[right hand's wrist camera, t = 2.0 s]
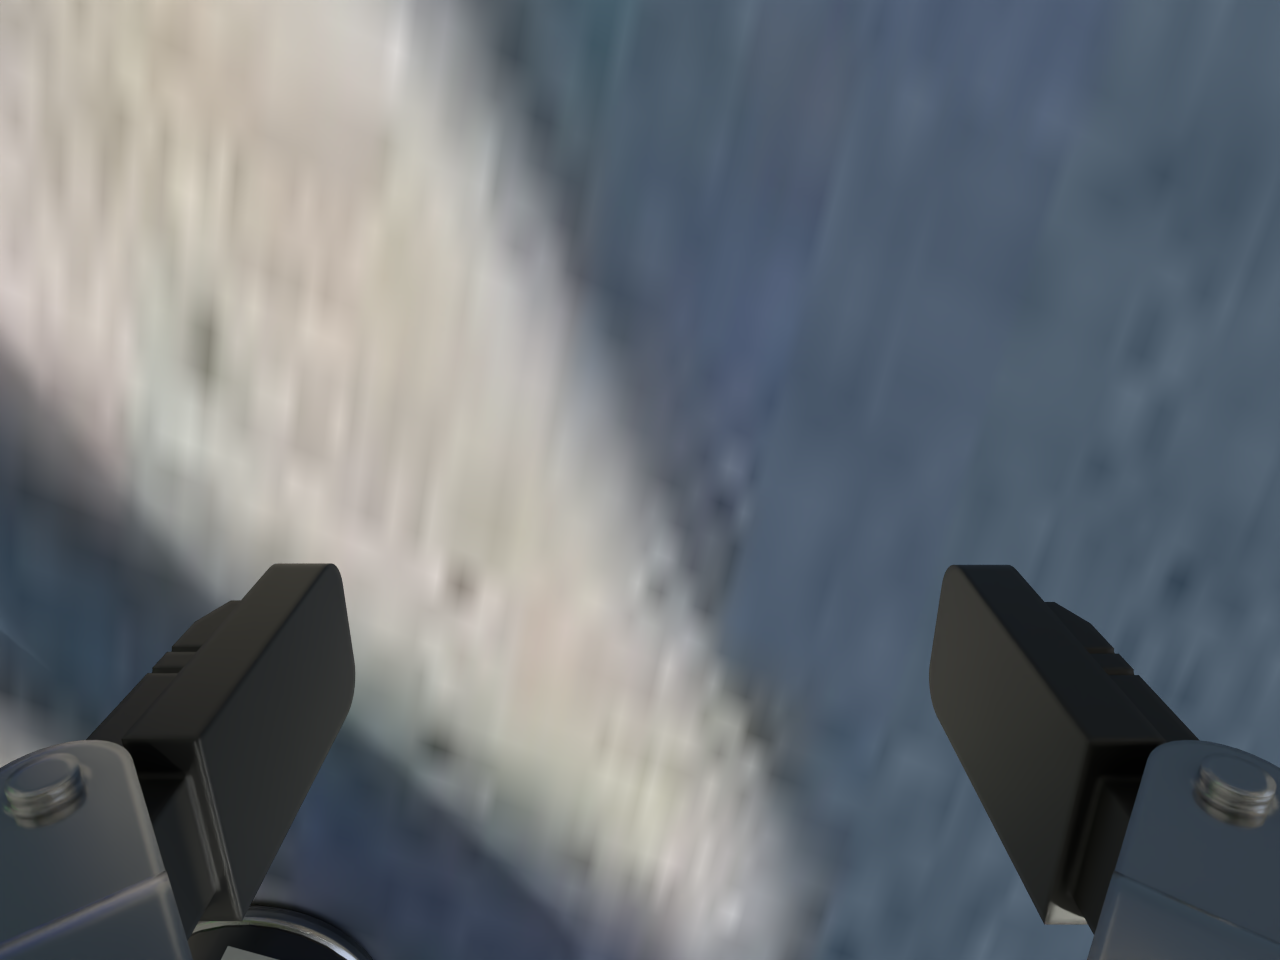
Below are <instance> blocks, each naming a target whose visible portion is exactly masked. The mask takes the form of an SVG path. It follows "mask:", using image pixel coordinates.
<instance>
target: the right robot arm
mask: <svg viewBox="0 0 1280 960" xmlns="http://www.w3.org/2000/svg"><path fill="white" fill-rule="evenodd" d="M929 685H930V694H931V699H932V703H933V707H934V710H935V713H936V715H937V717H938V719H939V721H940V723H941V725H942V727H943V729H944V731H945V733H946V735H947V737H948V738H949V740H950V742H951V744H952V746H953V748H954V750H955V752H956V754H957V756H958V758H959V760H960V762H961V764H962V766H963V768H964V769H965V771H966V773H967V775H968V777H969V779H970V781H971V783H972V785H973V787H974V789H975V791H976V793H977V795H978V797H979V799H980V800H981V802H982V804H983V806H984V808H985V810H986V812H987V814H988V816H989V818H990V820H991V822H992V824H993V826H994V828H995V830H996V832H997V833H998V835H999V837H1000V839H1001V841H1002V843H1003V845H1004V847H1005V849H1006V851H1007V853H1008V855H1009V857H1010V859H1011V861H1012V863H1013V864H1014V866H1015V868H1016V870H1017V872H1018V874H1019V876H1020V878H1021V880H1022V882H1023V884H1024V886H1025V888H1026V890H1027V892H1028V894H1029V895H1030V897H1031V899H1032V901H1033V903H1034V905H1035V907H1036V909H1037V911H1038V913H1039V915H1040V917H1041V919H1042V921H1043V923H1044V924H1088V925H1089V927H1090V929H1091V930H1092V932H1093V934H1094V938H1093V941H1092V945H1091V948H1090V951H1089V955H1088V958H1087V960H1280V768H1279V767H1277V766H1275V765H1273V764H1272V763H1270V762H1268V761H1266V760H1264V759H1262V758H1259V757H1257V756H1255V755H1253V754H1250V753H1247V752H1245V751H1242V750H1240V749H1236V748H1233V747H1230V746H1226V745H1222V744H1218V743H1213V742H1207V741H1200V740H1199V739H1198V738H1197V737H1196V736H1195V735H1194V734H1193V733H1192V732H1191V731H1190V730H1189V729H1188V727H1187V726H1186V725H1185V724H1184V723H1183V722H1182V721H1181V720H1180V719H1179V718H1178V717H1177V716H1176V715H1175V714H1174V712H1173V711H1172V710H1171V709H1170V708H1169V707H1168V706H1167V705H1166V704H1165V703H1164V702H1163V701H1162V700H1161V699H1160V697H1159V696H1158V695H1157V694H1156V693H1155V692H1154V691H1153V690H1152V689H1151V688H1150V687H1149V686H1148V685H1147V684H1146V682H1145V681H1144V680H1143V679H1142V678H1141V677H1140V676H1139V675H1134V670H1133V669H1132V667H1131V666H1130V665H1129V664H1128V663H1127V662H1126V661H1125V660H1124V659H1123V658H1122V657H1121V656H1120V655H1119V654H1115V653H1114V648H1113V647H1112V646H1111V645H1110V644H1109V643H1108V642H1107V641H1106V640H1105V638H1104V637H1103V636H1102V635H1101V634H1100V633H1099V632H1098V631H1097V630H1096V629H1095V628H1094V627H1093V626H1092V625H1091V624H1090V623H1089V622H1087V621H1085V620H1084V619H1082V618H1080V617H1079V616H1077V615H1075V614H1074V613H1072V612H1070V611H1069V610H1067V609H1065V608H1064V607H1062V606H1060V605H1058V604H1057V603H1055V602H1044V601H1043V600H1042V599H1041V597H1040V596H1039V595H1038V594H1037V593H1036V592H1035V591H1034V590H1033V588H1032V587H1031V586H1030V585H1029V584H1028V583H1027V582H1026V580H1025V579H1024V578H1023V577H1022V576H1021V575H1020V574H1019V572H1018V571H1017V570H1016V569H1015V568H1014V567H1012V566H1010V565H951V566H950V567H949V568H948V569H947V570H946V572H945V575H944V578H943V582H942V588H941V594H940V601H939V608H938V614H937V621H936V627H935V634H934V640H933V647H932V654H931V660H930V668H929ZM354 687H355V663H354V656H353V650H352V643H351V636H350V629H349V623H348V616H347V609H346V603H345V596H344V589H343V583H342V578H341V575H340V572H339V570H338V568H337V567H336V566H335V565H334V564H274V565H272V566H271V567H270V568H269V569H268V570H267V571H266V572H265V573H264V575H263V576H262V577H261V578H260V579H259V580H258V582H257V583H256V584H255V585H254V586H253V587H252V588H251V590H250V591H249V592H248V593H247V594H246V595H245V597H244V598H243V599H242V600H241V601H229V602H228V603H226V604H224V605H223V606H221V607H219V608H218V609H216V610H214V611H213V612H211V613H209V614H207V615H206V616H204V617H202V618H201V619H199V620H197V621H196V622H194V624H193V625H192V626H191V627H190V628H189V629H188V630H187V631H186V632H185V633H184V634H183V635H182V637H181V638H180V639H179V640H178V641H177V642H176V643H175V644H174V645H173V646H172V651H171V652H167V653H166V654H165V655H164V656H163V657H162V658H161V659H160V660H159V661H158V662H157V664H156V665H155V666H154V667H153V671H152V673H147V674H146V675H145V677H144V678H143V679H142V680H141V681H140V682H139V683H138V684H137V685H136V686H135V687H134V688H133V690H132V691H131V692H130V693H129V694H128V695H127V696H126V697H125V698H124V699H123V700H122V701H121V703H120V704H119V705H118V706H117V707H116V708H115V709H114V710H113V711H112V712H111V713H110V714H109V716H108V717H107V718H106V719H105V720H104V721H103V722H102V723H101V724H100V725H99V726H98V727H97V728H96V730H95V731H94V732H93V733H92V734H91V735H90V736H89V737H88V738H87V739H86V740H81V741H73V742H67V743H62V744H58V745H54V746H50V747H47V748H44V749H40V750H38V751H35V752H33V753H30V754H27V755H25V756H23V757H21V758H18V759H16V760H14V761H12V762H10V763H8V764H7V765H5V766H3V767H1V768H0V960H373V959H372V958H371V956H370V955H369V954H368V953H367V952H366V951H365V950H364V949H363V948H362V947H361V946H360V945H359V944H358V943H357V942H355V941H354V940H353V939H352V938H350V937H349V936H348V935H346V934H345V933H343V932H342V931H340V930H339V929H337V928H335V927H333V926H331V925H330V924H328V923H325V922H323V921H321V920H319V919H316V918H314V917H311V916H308V915H305V914H302V913H299V912H295V911H291V910H287V909H282V908H275V907H267V906H250V905H251V903H252V901H253V899H254V897H255V895H256V893H257V891H258V889H259V887H260V885H261V883H262V881H263V879H264V877H265V875H266V873H267V871H268V869H269V867H270V866H271V864H272V862H273V860H274V858H275V856H276V854H277V852H278V850H279V848H280V846H281V844H282V842H283V840H284V838H285V836H286V834H287V832H288V830H289V828H290V826H291V824H292V822H293V820H294V818H295V816H296V814H297V813H298V811H299V809H300V807H301V805H302V803H303V801H304V799H305V797H306V795H307V793H308V791H309V789H310V787H311V785H312V783H313V781H314V779H315V777H316V775H317V773H318V771H319V769H320V767H321V765H322V763H323V762H324V760H325V758H326V756H327V754H328V752H329V750H330V748H331V746H332V744H333V742H334V740H335V738H336V736H337V734H338V732H339V730H340V728H341V726H342V724H343V722H344V720H345V718H346V716H347V714H348V712H349V710H350V707H351V703H352V699H353V694H354Z"/></svg>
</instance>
